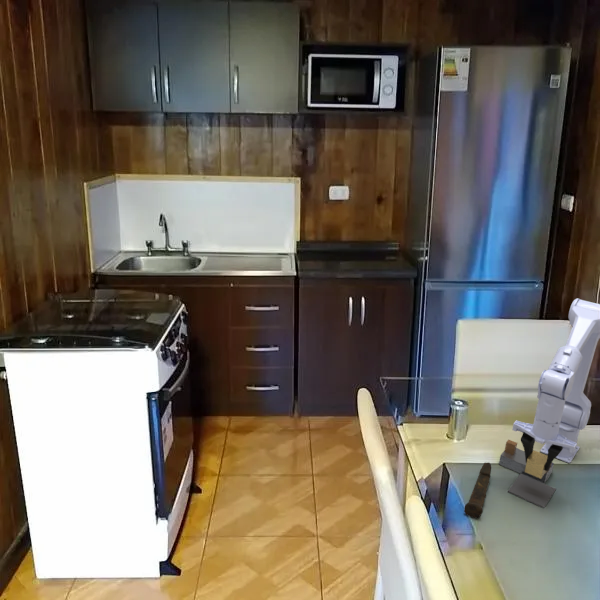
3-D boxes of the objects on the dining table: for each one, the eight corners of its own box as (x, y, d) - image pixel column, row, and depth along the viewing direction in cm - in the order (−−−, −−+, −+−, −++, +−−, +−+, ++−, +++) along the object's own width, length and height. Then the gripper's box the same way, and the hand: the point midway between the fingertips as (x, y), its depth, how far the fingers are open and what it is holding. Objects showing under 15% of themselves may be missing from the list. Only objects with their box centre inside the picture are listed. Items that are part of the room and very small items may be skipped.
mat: (520, 474, 157) (520, 473, 156) (555, 489, 152) (556, 488, 151) (507, 491, 150) (507, 490, 150) (544, 508, 145) (544, 507, 145)
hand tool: (480, 521, 140) (483, 505, 138) (463, 515, 142) (466, 499, 140) (497, 477, 156) (500, 462, 154) (481, 472, 158) (484, 457, 156)
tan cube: (524, 471, 148) (527, 458, 146) (530, 463, 151) (533, 450, 149) (541, 478, 145) (544, 465, 144) (546, 470, 149) (550, 456, 147)
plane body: (507, 454, 165) (510, 435, 163) (551, 472, 158) (556, 453, 156) (498, 464, 160) (502, 445, 158) (544, 483, 154) (548, 464, 151)
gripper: (511, 412, 144) (502, 460, 149) (574, 436, 136) (562, 485, 141) (522, 401, 149) (513, 447, 154) (583, 423, 141) (571, 471, 146)
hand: (537, 464), depth 148 cm, fingers closed on tan cube, 4 cm apart
